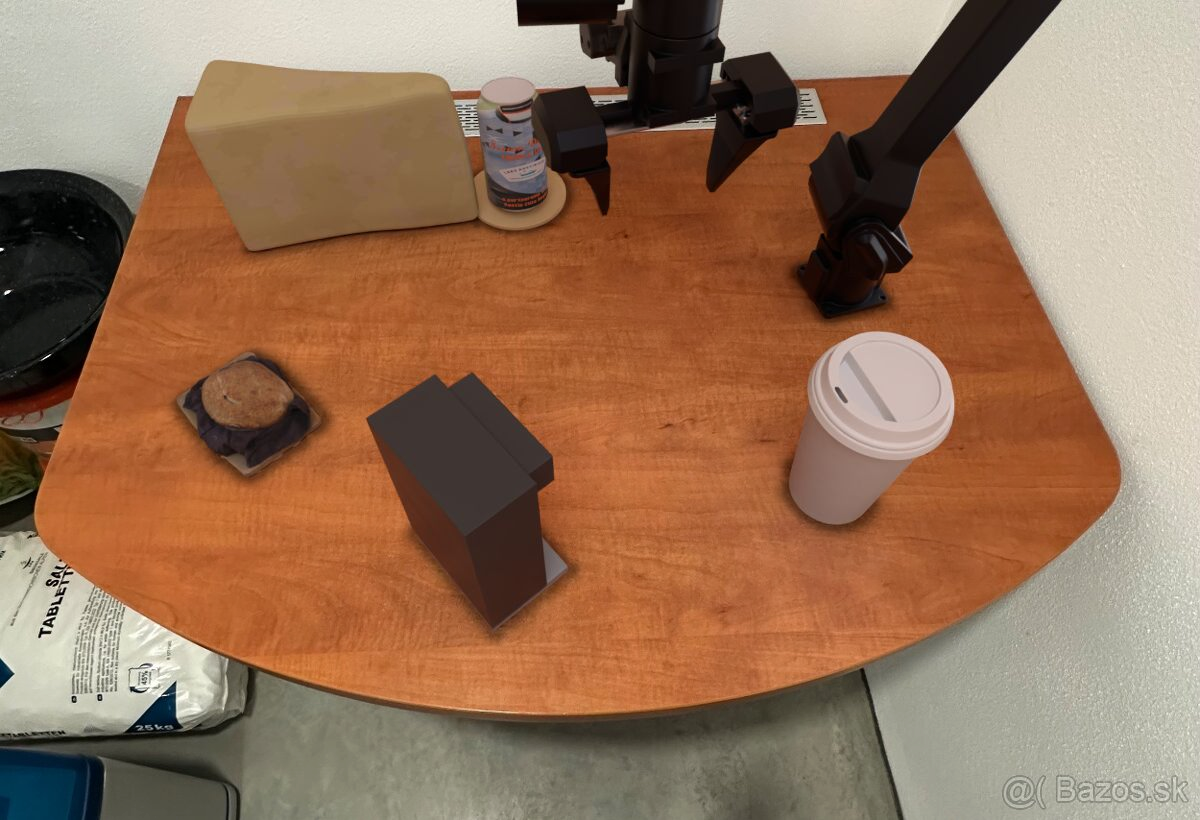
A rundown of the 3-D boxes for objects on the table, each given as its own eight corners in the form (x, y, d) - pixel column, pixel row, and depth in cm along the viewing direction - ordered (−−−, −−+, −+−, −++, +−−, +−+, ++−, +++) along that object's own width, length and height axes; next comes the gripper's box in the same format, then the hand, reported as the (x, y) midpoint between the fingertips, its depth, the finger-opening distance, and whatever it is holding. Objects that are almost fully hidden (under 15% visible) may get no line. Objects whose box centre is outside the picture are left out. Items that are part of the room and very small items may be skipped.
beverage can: (497, 227, 79) (484, 124, 68) (478, 179, 82) (463, 74, 72) (558, 213, 80) (554, 110, 70) (536, 166, 84) (530, 61, 73)
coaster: (550, 155, 85) (550, 152, 85) (578, 218, 80) (578, 215, 80) (458, 173, 83) (457, 170, 83) (480, 239, 78) (480, 236, 78)
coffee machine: (488, 481, 64) (461, 356, 50) (568, 571, 60) (564, 463, 46) (414, 533, 61) (365, 417, 47) (493, 631, 57) (464, 536, 43)
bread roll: (172, 406, 67) (151, 381, 64) (259, 349, 70) (243, 323, 67) (241, 485, 63) (223, 463, 60) (330, 421, 66) (317, 396, 63)
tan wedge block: (482, 181, 82) (460, 46, 69) (476, 251, 77) (452, 118, 64) (265, 186, 82) (204, 50, 69) (245, 255, 76) (174, 123, 64)
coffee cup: (764, 434, 66) (807, 318, 54) (879, 438, 66) (948, 324, 54) (774, 540, 61) (824, 440, 49) (899, 545, 61) (981, 446, 49)
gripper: (757, -69, 57) (724, 117, 70) (503, -30, 54) (518, 158, 67) (828, 17, 51) (778, 202, 64) (549, 66, 48) (556, 251, 61)
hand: (657, 200), depth 64 cm, fingers open, 9 cm apart
